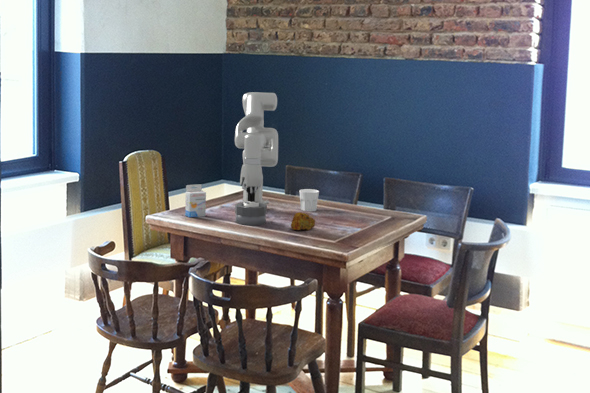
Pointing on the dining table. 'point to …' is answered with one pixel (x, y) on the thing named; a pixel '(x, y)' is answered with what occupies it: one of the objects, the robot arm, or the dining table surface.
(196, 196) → the ink box
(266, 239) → the dining table surface
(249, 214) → the grey stepped puck
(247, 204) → the cap
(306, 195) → the cup
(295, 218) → the rock
